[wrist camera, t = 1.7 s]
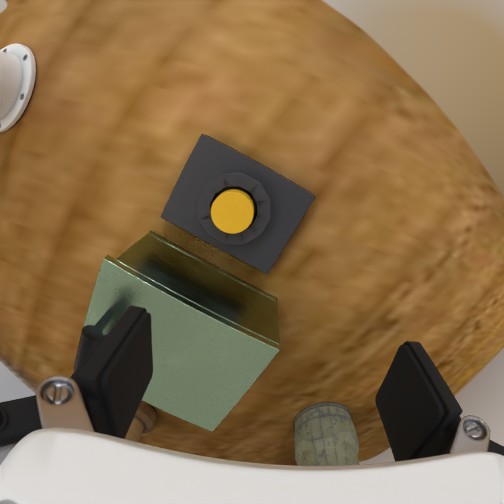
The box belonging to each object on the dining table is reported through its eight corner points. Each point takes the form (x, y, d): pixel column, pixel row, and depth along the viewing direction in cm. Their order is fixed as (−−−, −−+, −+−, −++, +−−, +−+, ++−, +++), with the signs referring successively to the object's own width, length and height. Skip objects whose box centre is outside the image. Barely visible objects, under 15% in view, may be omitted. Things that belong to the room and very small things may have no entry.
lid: (78, 358, 28) (55, 389, 23) (107, 254, 24) (74, 280, 19) (213, 426, 30) (206, 464, 25) (279, 344, 26) (282, 387, 21)
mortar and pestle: (113, 393, 41) (68, 481, 24) (151, 398, 41) (112, 496, 24) (126, 420, 43) (90, 504, 26) (161, 425, 43) (131, 516, 26)
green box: (115, 321, 37) (84, 361, 28) (150, 230, 32) (115, 259, 24) (222, 376, 38) (213, 426, 30) (276, 297, 34) (279, 344, 26)
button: (207, 216, 28) (203, 221, 26) (225, 181, 27) (223, 184, 25) (242, 235, 28) (240, 241, 27) (261, 201, 27) (261, 205, 26)
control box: (167, 212, 32) (154, 221, 28) (206, 134, 29) (197, 133, 25) (267, 266, 33) (267, 282, 29) (312, 193, 30) (318, 199, 27)
